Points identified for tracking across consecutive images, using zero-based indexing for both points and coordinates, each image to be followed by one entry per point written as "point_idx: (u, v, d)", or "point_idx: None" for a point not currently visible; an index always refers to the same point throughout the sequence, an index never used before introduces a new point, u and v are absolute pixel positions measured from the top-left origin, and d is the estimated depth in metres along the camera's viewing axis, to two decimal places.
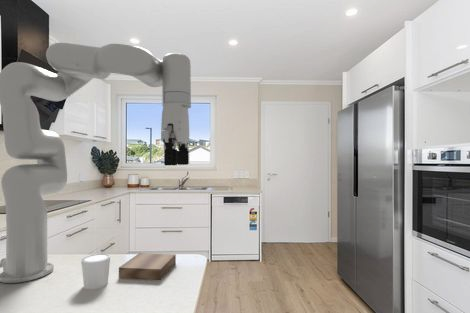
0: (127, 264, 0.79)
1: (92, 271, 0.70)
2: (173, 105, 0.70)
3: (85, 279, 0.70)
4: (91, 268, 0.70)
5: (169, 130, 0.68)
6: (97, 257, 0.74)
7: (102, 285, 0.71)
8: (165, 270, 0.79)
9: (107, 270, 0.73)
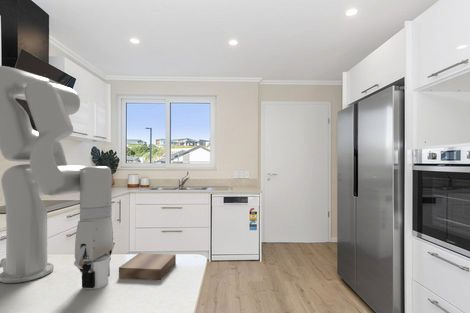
0: (127, 264, 0.79)
1: None
2: (87, 224, 0.69)
3: None
4: None
5: (81, 258, 0.67)
6: None
7: (102, 285, 0.71)
8: (165, 270, 0.79)
9: (107, 270, 0.73)
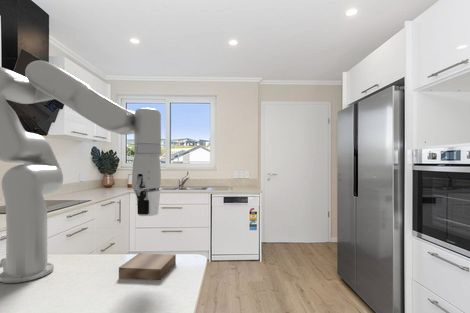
0: (127, 264, 0.79)
1: None
2: (143, 157, 0.78)
3: None
4: None
5: (139, 186, 0.75)
6: (149, 190, 0.82)
7: (154, 213, 0.80)
8: (165, 270, 0.79)
9: (158, 201, 0.81)
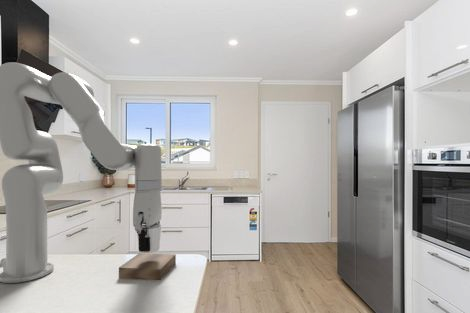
0: (127, 264, 0.79)
1: None
2: (143, 194, 0.77)
3: None
4: None
5: (140, 224, 0.75)
6: None
7: (155, 250, 0.80)
8: (165, 270, 0.79)
9: (159, 237, 0.81)
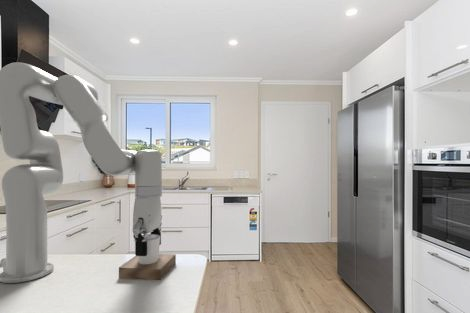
0: (127, 264, 0.79)
1: None
2: (144, 200, 0.77)
3: None
4: None
5: (139, 226, 0.75)
6: (148, 236, 0.82)
7: (154, 261, 0.80)
8: (165, 270, 0.79)
9: (158, 248, 0.81)
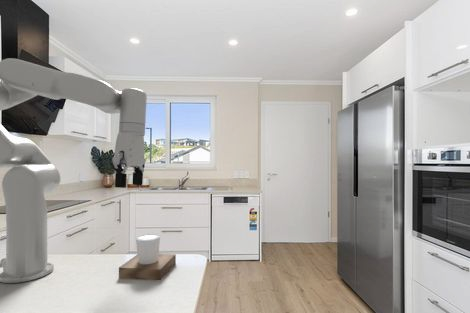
0: (127, 264, 0.79)
1: (146, 248, 0.78)
2: (126, 135, 0.80)
3: (140, 255, 0.79)
4: (146, 246, 0.78)
5: (119, 157, 0.78)
6: (148, 236, 0.82)
7: (154, 261, 0.80)
8: (165, 270, 0.79)
9: (158, 248, 0.81)
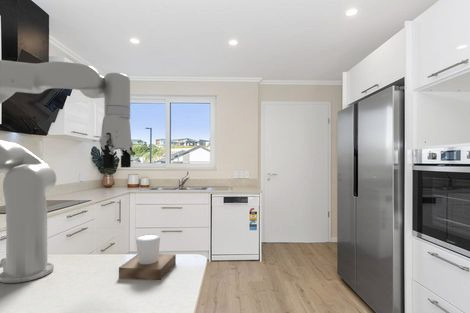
0: (127, 264, 0.79)
1: (146, 248, 0.78)
2: (111, 117, 0.83)
3: (140, 255, 0.79)
4: (146, 246, 0.78)
5: (105, 138, 0.80)
6: (148, 236, 0.82)
7: (154, 261, 0.80)
8: (165, 270, 0.79)
9: (158, 248, 0.81)
